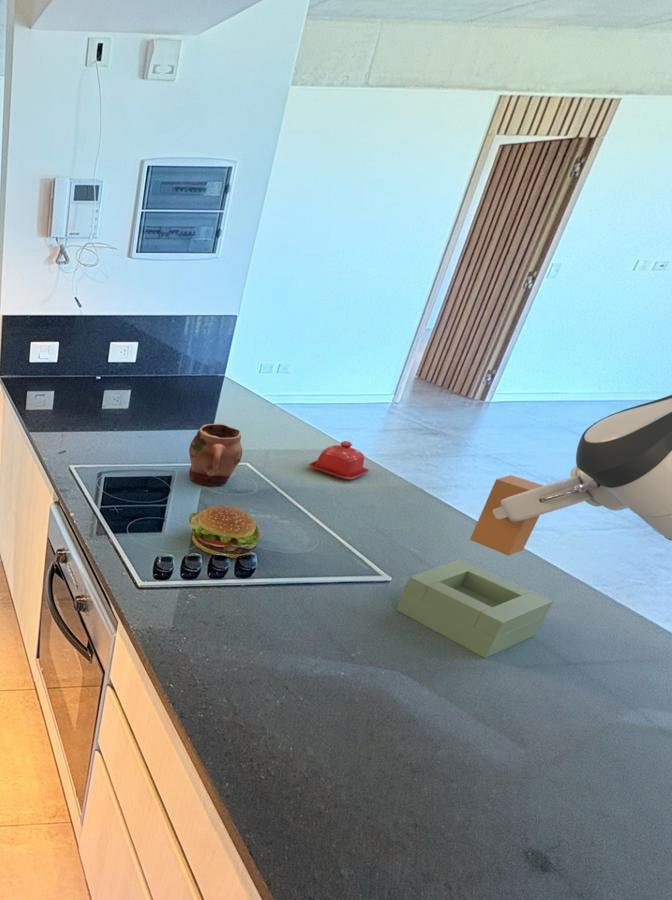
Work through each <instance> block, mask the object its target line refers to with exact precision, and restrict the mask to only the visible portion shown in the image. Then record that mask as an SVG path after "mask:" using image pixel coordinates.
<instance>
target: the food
mask: <svg viewBox="0 0 672 900" xmlns="http://www.w3.org/2000/svg"><path fill="white" fill-rule="evenodd" d="M188 521H189V528H190V531H191V533H192V535H191V536H192V537H191V539H192V542H193V543H194V545H195V547H196V548H198V549H200V550H201V551H203V552H204V553H206V554H209V555H213V556H215V554H226V555H228V556H229V557H230V558H229V559H238V558H237V557H239V556H241V555H244V554H248V555H249V554H250V553H252V552H253V550H255V549H256V548H257V544H258V540H259V539H260V536H261V532H260V531H259V530H260V528H258V524H257V523H256V521H255V519H254V518H253V517H252V516H251V515H250V514H248V513H247V512H246V511H244V510H242V509H239V508H236V507H233V506H228V505H215V506H214V505H213V506H209V507H207V508H203V510H199V512H198V513H197V511H194V512H192V513H191V514H190V515H189V517H188ZM239 558H240V557H239Z"/></svg>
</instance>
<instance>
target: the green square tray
mask: <svg viewBox="0 0 672 900" xmlns="http://www.w3.org/2000/svg"><path fill="white" fill-rule="evenodd" d="M553 603H554V600H553V599H551V598H549V597H546V596H544V595H542V594H540V593H537V592H534V591H533V590H530V589H528V588H526V587H524V586H521V585H519V584H518V583H517V584H516V583H515V582H512V581H510V580H508V579H505V578H503V577H501V576H499V575H496V574H494V573H492V572H490V571H487V570H485V569H483V568H480V567H478V566H476V565H475V564H471V563H470V562H467V561H465V560H463V559H460V558H458V559H456V560H453V561H450V562H447V563H444V564H442V565H439V566H436V567H433V568H429V569H427V570H425V571H422V572H419V573H416V574H413V575H410V576H409V577H408V579H407V582H406V584H405V587H404V589H403V592H402V595H401V597H400V599H399V602H398V604H397V607H396V611H397V612H399V613H401V614H403V615H404V616H406V617H409V618H411V619H412V620H413V621H416V622H418V623H419V624H421V625H423V626H425V627H426V628H428V629H430V630H432V631H434V632H435V633H437V634H439V635H441V636H443V637H445V638H446V639H448V640H450V641H452V642H454V643H456V644H458V645H460V646H461V647H463V648H465V649H466V650H469V651H470V652H472V653H474V654H475V655H478V656H479V657H481V658H483V659H487V658H489V657H491V656H493V655H495V654H498V653H501V652H502V651H504V650H507V649H509V648H511V647H513V646H515V645H517V644H519V643H522V642H524V641H526V640H528V639H531V638H533V637H535V636H536V635H537V633H538V632H539V629H540V627H541V625H542V624H543V622H544V620H545V618H546V616H547V614H548V613H549V611H550V608H551V607H552V605H553Z"/></svg>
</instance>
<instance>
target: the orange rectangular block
mask: <svg viewBox="0 0 672 900" xmlns="http://www.w3.org/2000/svg"><path fill="white" fill-rule="evenodd" d="M541 486H545V485H544V484H540V483H537V482H534V481H531V480H527V479H524V478H522V477H518V476H515V475H511V474H509V475H505V476H502V477H499V478H496V479H495V480H494V483H493V486H492V487H491V490H490V492H489V495H488V497H487V499H486V502H485V504H484V506H483V508H482V511H481V513H480V515H479V518H478V520H477V522H476V524H475V527H474V528H473V531H472V534H471V536H470V538H469V541H471V542H474V543H475V544H476V543H477V544H479V545H482V546H485V547H486V548H488V549H491V550H494V551H496V552H498V553H500V554H503V555H506V556H512V555H514V554H517V553H519V552H522V551H524V549H525V547H526V545H527V542H528V540H529V538H530V537H531V534H532V532H533V530H534V528H535V526H536V525H537V523H538V520H539V518H540V516H541V515H538V516H535V517H531V518H528V519H525V520H521V521H515V522H513V521H511V520H510V519H509V518H508V517H506V518H503V519H497V518H496V517H495V515H494V513H493V509H495V508H498V507H501V506H502V505H501V501H502V500H503V499H505V498H507V497H510V496H514V495H517V494H520V493H523V492H526V491H529V490H532V489H535V488H538V487H541Z"/></svg>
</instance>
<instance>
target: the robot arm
mask: <svg viewBox="0 0 672 900" xmlns="http://www.w3.org/2000/svg"><path fill="white" fill-rule="evenodd" d="M575 464H576V465H575V466H573V467H572V468H571V470H570V477H568V478H564V479H561V480H557V481H555V482H551V483H548V484H545V485H544V486H541V487H538V488H535V489H532V490H529V491H526V492H523V493H520V494H517V495H514V496H510V497H507V498H505V499H503V500H502V501H501V505H502V506H501V507H498V508H495V509H493V513H494V515H495V517H496V518H497V519H503V518H506V517H508V518H509V519H510V520H511V521H513V522H515V521H521V520H525V519H528V518H531V517H535V516H538V515H540V516H541V515H545V514H548V513H552V512H554V511H555V512H556V511H558V510H562V509H565V508H569V507H571V506H575V505H578V504H581V503H583V502H585V503H587V504H588V505H590V506H592V507H598V508H599V507H604V508H606V509H608V510H610V511H615V512H617V511H623V510H626V509H629V510H630V511H631V512H633V513H634V514H636V515H637V516H638V517H639V518H640V519H642V521H643V522H644V523H646V524H647V525H648V526H649V527H650V528H652V530H654V531H655V532H657V533H658V534H659V535H661V536H663V537H664V538H665V539H666V540H669V541H672V394H670V395H667V396H664V397H661V398H658V399H655V400H652V401H649V402H645V403H641V404H639V405H635V406H631V407H628V408H625V409H621V410H619V411H617V412H614V413H612V414H609V415H607V416H605V417H603V418H600V419H599V420H597V421H596V422H594V423H592V424H591V425H590V426H589V427H587V428H586V429H585V431H584V432H583V433H582V435H581V437H580V439H579V441H578V445H577V449H576V453H575Z"/></svg>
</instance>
